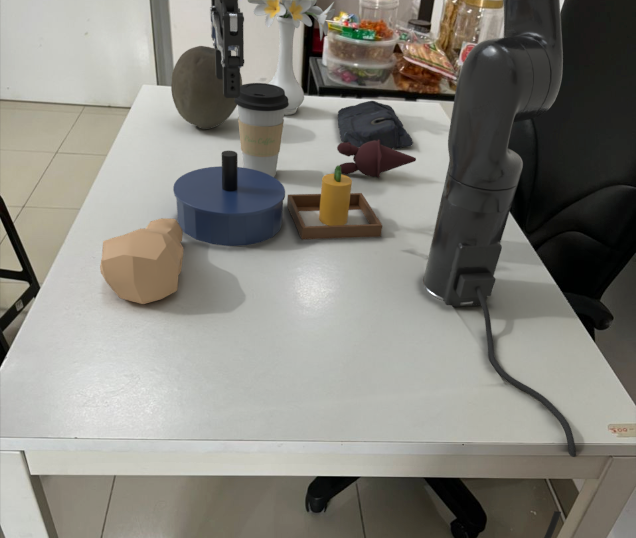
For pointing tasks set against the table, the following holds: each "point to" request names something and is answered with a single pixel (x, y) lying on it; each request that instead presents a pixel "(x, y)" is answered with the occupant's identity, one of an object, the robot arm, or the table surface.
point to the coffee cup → (261, 125)
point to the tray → (336, 231)
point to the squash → (144, 261)
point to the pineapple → (335, 198)
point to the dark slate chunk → (372, 125)
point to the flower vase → (290, 39)
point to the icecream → (372, 158)
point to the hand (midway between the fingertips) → (227, 87)
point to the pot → (229, 226)
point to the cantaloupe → (200, 89)
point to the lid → (229, 189)
